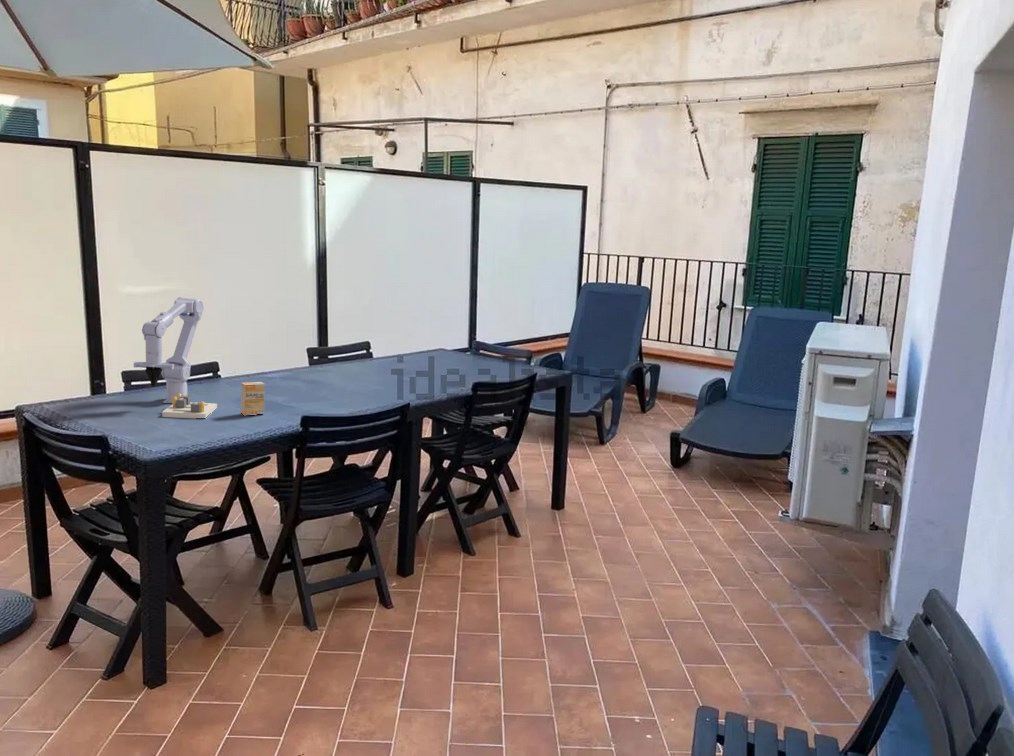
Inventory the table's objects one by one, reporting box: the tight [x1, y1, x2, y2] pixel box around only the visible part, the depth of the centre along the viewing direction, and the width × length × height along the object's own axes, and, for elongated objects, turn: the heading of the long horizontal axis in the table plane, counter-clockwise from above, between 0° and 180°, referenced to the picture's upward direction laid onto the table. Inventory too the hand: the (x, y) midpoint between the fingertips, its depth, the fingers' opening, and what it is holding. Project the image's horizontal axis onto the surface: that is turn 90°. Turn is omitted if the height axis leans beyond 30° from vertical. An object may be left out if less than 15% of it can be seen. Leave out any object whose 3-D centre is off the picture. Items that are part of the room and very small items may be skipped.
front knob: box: [191, 401, 200, 412], centre depth 293 cm, size 3×3×3 cm
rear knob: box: [180, 394, 191, 405], centre depth 302 cm, size 3×3×3 cm
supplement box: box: [239, 381, 266, 416], centre depth 301 cm, size 8×5×13 cm, turn 126°
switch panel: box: [161, 394, 218, 419], centre depth 298 cm, size 17×16×6 cm
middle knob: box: [176, 398, 186, 408], centre depth 297 cm, size 3×3×3 cm
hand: (154, 386), depth 297 cm, fingers closed
